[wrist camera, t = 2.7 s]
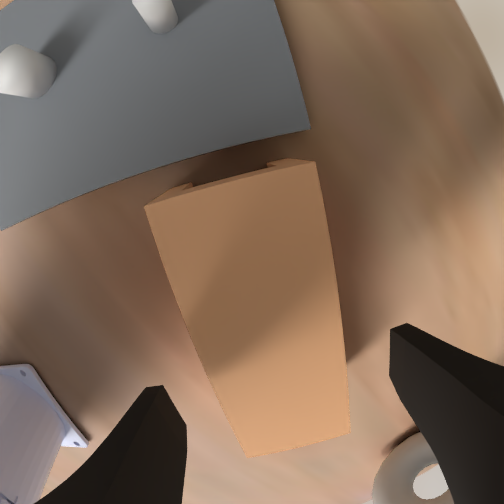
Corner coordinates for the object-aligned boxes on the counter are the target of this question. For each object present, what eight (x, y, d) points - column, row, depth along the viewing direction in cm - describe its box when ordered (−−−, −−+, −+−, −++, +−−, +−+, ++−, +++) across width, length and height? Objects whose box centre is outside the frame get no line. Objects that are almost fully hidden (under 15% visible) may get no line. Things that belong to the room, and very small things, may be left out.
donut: (363, 472, 21) (395, 559, 11) (352, 460, 20) (386, 558, 10) (459, 414, 20) (511, 490, 10) (457, 396, 19) (518, 479, 9)
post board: (11, 225, 12) (-30, 246, 9) (-16, 34, 8) (-52, 22, 5) (305, 130, 12) (331, 123, 9) (239, -75, 8) (242, -115, 5)
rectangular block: (327, 375, 16) (350, 432, 12) (242, 396, 17) (247, 458, 12) (286, 158, 13) (315, 161, 8) (171, 187, 13) (143, 206, 8)
